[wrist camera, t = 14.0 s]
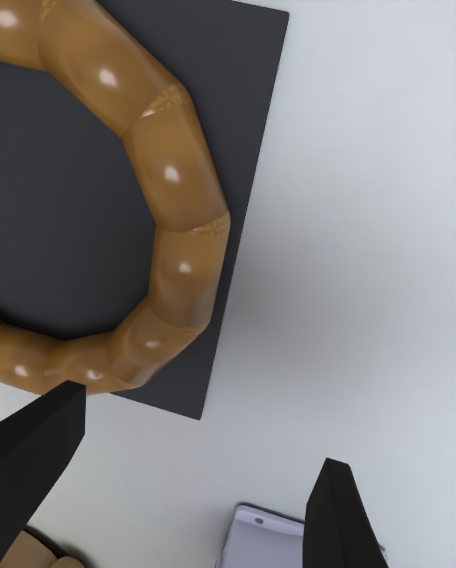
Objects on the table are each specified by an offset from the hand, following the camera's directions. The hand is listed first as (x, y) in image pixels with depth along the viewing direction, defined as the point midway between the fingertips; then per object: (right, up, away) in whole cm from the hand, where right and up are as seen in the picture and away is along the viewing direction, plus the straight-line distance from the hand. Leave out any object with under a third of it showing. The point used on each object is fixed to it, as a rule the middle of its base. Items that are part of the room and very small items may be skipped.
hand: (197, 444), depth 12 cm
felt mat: (-8, +8, +8) cm, 15 cm away
